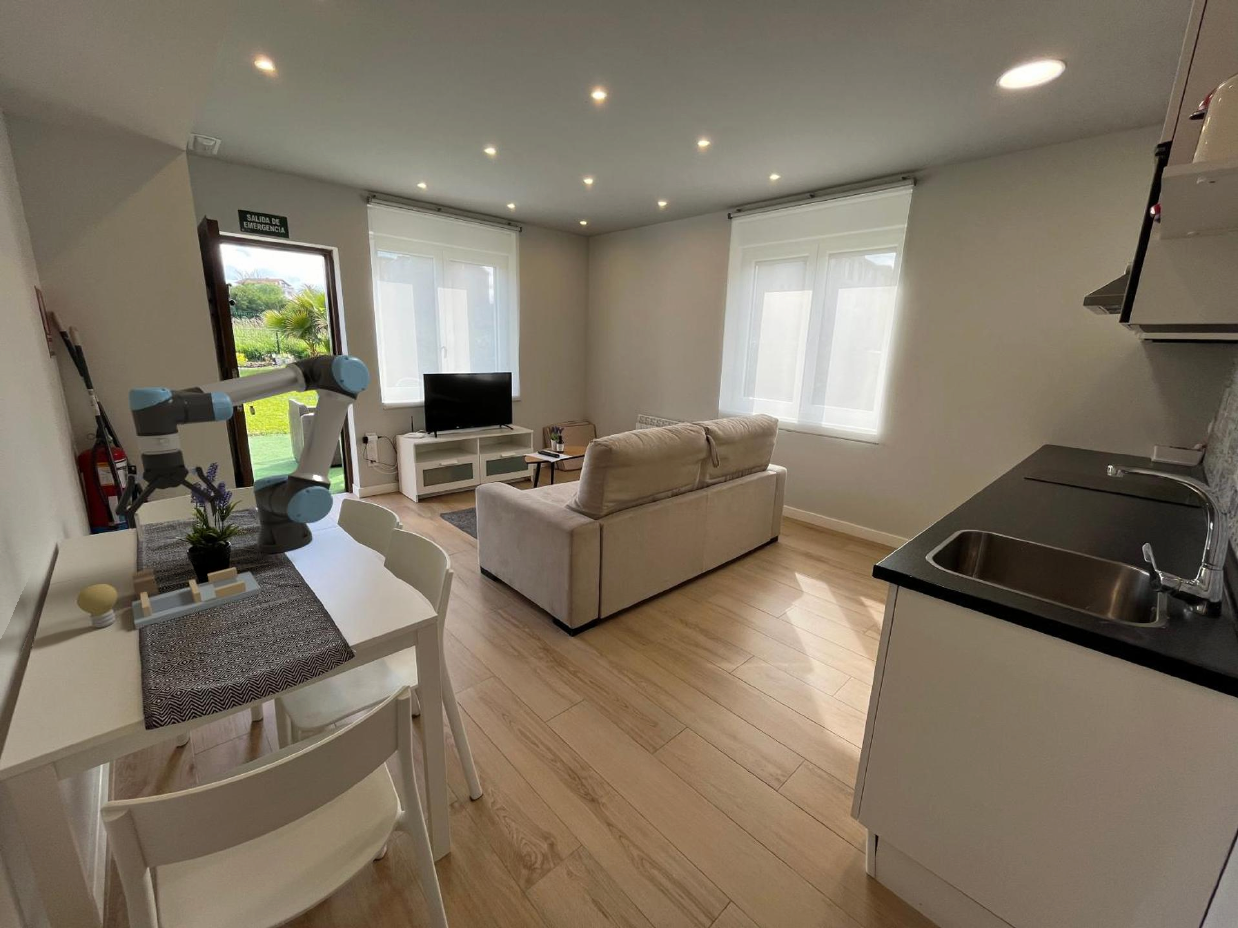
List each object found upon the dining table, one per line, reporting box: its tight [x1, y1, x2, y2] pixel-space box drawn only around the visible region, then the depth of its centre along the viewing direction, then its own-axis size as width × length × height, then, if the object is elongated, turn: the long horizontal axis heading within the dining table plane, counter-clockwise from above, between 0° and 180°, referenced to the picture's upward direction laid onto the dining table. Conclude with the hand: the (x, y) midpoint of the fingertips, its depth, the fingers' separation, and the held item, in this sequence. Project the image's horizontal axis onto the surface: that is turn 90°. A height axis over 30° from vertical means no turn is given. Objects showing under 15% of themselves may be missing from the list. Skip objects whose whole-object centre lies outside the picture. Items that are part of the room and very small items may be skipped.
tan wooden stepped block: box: [131, 568, 160, 601], centre depth 127 cm, size 8×4×6 cm, turn 46°
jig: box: [131, 566, 262, 630], centre depth 126 cm, size 14×24×4 cm, turn 136°
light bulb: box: [76, 583, 118, 629], centre depth 114 cm, size 6×6×10 cm
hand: (178, 532), depth 125 cm, fingers open, 13 cm apart
